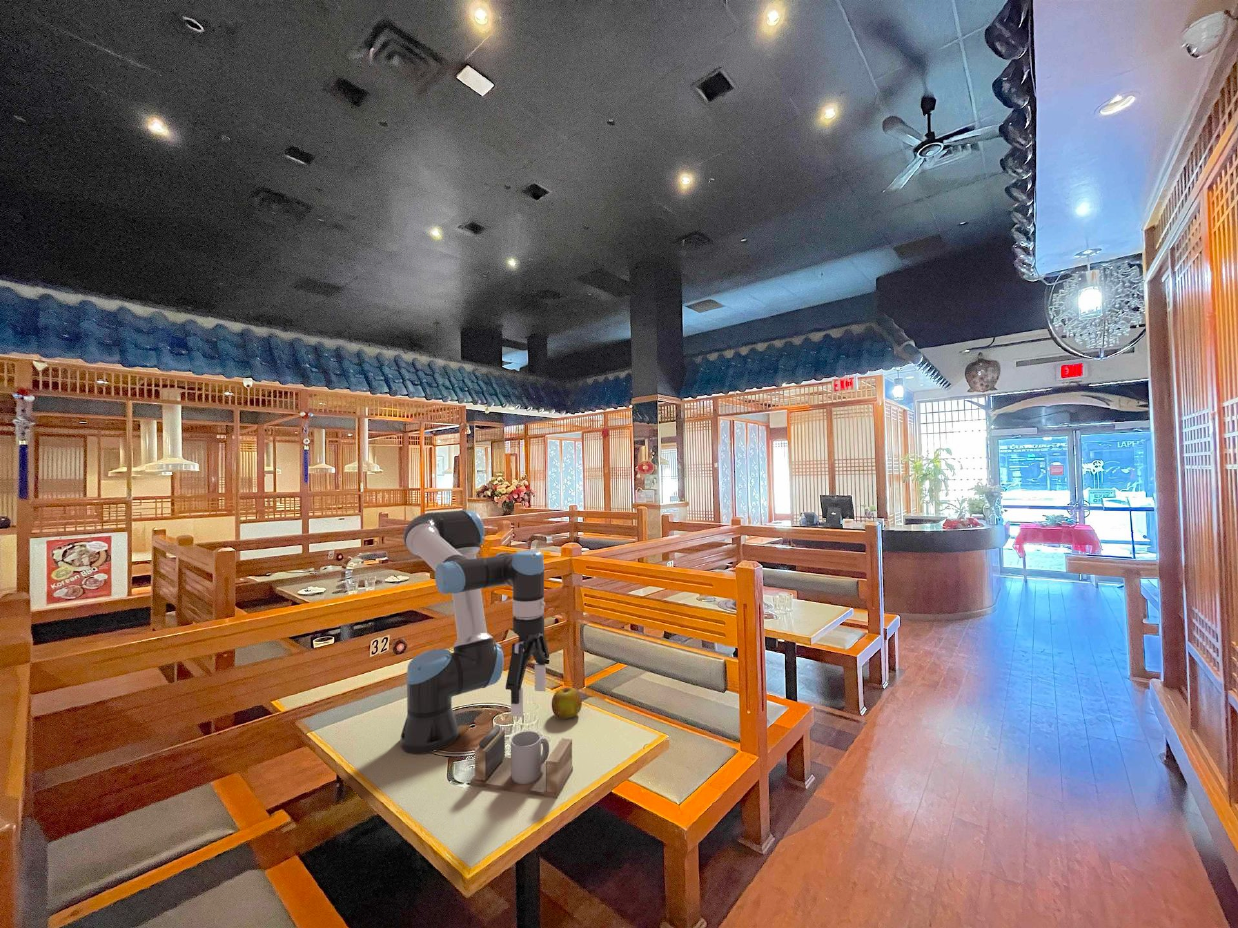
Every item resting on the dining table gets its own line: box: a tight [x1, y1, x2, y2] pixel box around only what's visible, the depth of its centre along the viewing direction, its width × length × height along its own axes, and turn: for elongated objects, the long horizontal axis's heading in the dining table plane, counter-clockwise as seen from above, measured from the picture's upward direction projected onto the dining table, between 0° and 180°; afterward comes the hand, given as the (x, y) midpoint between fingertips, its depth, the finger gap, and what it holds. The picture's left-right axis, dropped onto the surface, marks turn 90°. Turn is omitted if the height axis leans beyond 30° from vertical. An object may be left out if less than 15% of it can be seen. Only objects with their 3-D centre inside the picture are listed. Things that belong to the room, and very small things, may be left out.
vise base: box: [469, 737, 574, 799], centre depth 123 cm, size 22×11×8 cm, turn 76°
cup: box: [510, 730, 550, 784], centre depth 123 cm, size 7×10×9 cm
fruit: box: [551, 687, 583, 720], centre depth 153 cm, size 10×9×8 cm
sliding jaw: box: [474, 724, 506, 780], centre depth 125 cm, size 3×10×9 cm, turn 166°
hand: (529, 702), depth 123 cm, fingers open, 13 cm apart
